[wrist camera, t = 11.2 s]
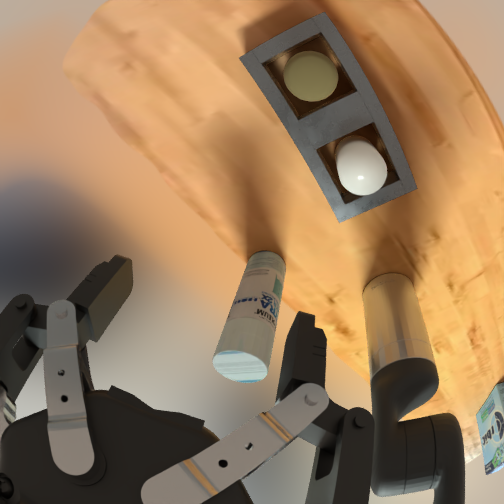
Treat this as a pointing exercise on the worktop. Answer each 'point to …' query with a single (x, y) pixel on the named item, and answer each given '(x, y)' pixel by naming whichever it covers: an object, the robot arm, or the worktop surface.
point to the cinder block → (331, 116)
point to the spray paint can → (252, 320)
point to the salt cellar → (360, 165)
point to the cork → (310, 76)
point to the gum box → (492, 429)
